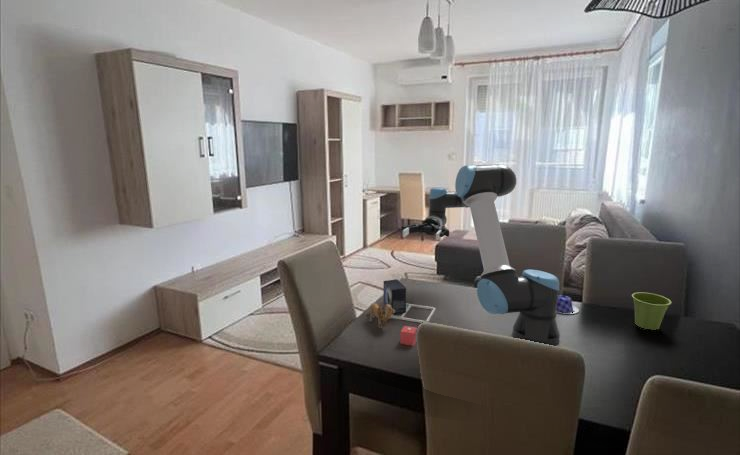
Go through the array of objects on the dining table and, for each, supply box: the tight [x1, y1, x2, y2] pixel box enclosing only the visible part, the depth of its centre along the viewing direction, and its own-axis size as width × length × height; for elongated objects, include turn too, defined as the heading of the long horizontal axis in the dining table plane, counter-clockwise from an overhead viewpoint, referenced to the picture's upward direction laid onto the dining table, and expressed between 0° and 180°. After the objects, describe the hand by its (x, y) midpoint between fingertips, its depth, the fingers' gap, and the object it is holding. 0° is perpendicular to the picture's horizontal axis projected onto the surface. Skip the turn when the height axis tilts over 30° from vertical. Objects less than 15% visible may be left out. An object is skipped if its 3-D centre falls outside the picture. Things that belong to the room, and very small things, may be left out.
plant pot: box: [631, 291, 672, 330], centre depth 148 cm, size 12×12×11 cm
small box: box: [382, 278, 407, 314], centre depth 162 cm, size 11×6×10 cm, turn 17°
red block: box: [400, 325, 418, 347], centre depth 138 cm, size 4×4×5 cm
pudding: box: [557, 294, 580, 315], centre depth 165 cm, size 12×12×5 cm
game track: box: [382, 302, 436, 324], centre depth 162 cm, size 21×14×1 cm
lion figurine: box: [366, 302, 395, 329], centre depth 152 cm, size 15×5×9 cm, turn 39°
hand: (419, 235), depth 162 cm, fingers open, 13 cm apart
